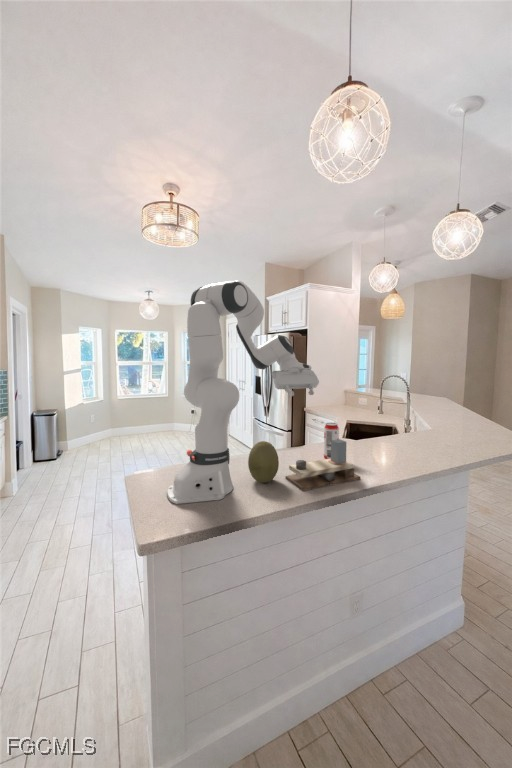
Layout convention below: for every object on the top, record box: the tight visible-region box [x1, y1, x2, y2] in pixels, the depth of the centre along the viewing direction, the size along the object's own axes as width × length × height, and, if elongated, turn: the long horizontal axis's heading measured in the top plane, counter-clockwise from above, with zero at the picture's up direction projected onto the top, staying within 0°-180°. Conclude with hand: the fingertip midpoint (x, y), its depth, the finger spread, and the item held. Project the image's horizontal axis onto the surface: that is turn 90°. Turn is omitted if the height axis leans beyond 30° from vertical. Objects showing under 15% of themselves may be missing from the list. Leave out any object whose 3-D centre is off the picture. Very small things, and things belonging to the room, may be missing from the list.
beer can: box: [323, 422, 340, 460], centre depth 140 cm, size 6×6×16 cm
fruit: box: [247, 440, 280, 484], centre depth 117 cm, size 11×11×15 cm
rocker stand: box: [285, 467, 361, 492], centre depth 119 cm, size 25×12×4 cm, turn 112°
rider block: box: [331, 438, 347, 464], centre depth 121 cm, size 4×4×8 cm
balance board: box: [288, 458, 354, 478], centre depth 118 cm, size 22×9×4 cm, turn 112°
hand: (302, 394), depth 134 cm, fingers open, 8 cm apart
